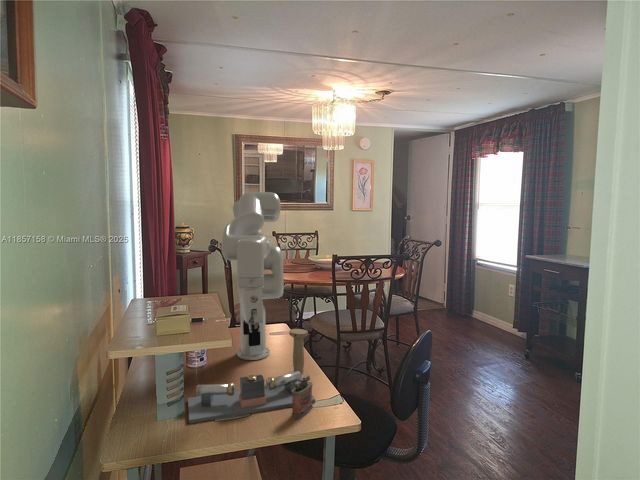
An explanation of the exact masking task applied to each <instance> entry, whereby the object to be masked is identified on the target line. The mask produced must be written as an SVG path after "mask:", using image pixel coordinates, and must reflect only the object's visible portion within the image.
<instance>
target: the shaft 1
mask: <svg viewBox="0 0 640 480" xmlns="http://www.w3.org/2000/svg"><path fill="white" fill-rule="evenodd" d="M235 391H236V383H234V382H229V383H221V384H220V383H219V384H196V386H195V397H198V396H201V407H210V406H211V404H212V402H213V395H228V396H233V395H234V394H235Z"/></svg>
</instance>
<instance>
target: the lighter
mask: <svg viewBox="0 0 640 480" xmlns="http://www.w3.org/2000/svg"><path fill="white" fill-rule="evenodd" d="M312 395H313V382H311V376H310V375H309V374H306V375H305V376H303V377H302V378H299V379H298V381H297V382H296V383H295V388H294V389H293V390H292V406H291V407H292V410H291V411H292V413H291V418H293V420H294V419H295V420H298V419H299V420H300V419H301V418H303V417H305V416H306V415H307V414H309V413H310V412H311V411H312V410H313V403H312Z"/></svg>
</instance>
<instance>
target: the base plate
mask: <svg viewBox="0 0 640 480" xmlns="http://www.w3.org/2000/svg"><path fill="white" fill-rule="evenodd" d="M264 393H265V397H259V398H252V399H245V400H242V398H241V394H240V390H235V394H234V395H233V396H228V395H213V402H212V404H211V406H210V407H201V396H192V397H191V396H190V397H187V405H188V406H187V412H188V424H194V423H195V424H197V423H201V422H206V421H211V420H212V421H213V420H219V419H225V418H231V417H235V416H243V415H248V414H255V413H261V412H267V411H271V410H278V409H285V408H290V407H292V394H290V393H289V392H288V391H286V390H285V389H284V385H283V386H280V387H276V388H275V389H273V390H269V389H268V388H267V386H265V385H264ZM314 403H316V398H315V397H314V395H313V394H312V404H314Z"/></svg>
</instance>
